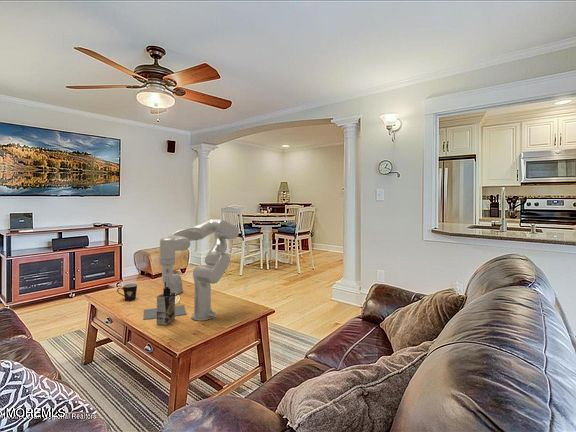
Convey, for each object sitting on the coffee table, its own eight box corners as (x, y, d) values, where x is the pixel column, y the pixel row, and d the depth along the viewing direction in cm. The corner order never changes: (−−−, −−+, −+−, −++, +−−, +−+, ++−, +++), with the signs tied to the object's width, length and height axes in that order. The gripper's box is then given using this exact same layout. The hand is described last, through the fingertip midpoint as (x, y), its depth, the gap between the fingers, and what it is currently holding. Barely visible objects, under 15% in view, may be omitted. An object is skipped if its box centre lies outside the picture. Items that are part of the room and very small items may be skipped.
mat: (186, 314, 190) (186, 314, 190) (143, 320, 181) (143, 319, 181) (184, 305, 205) (184, 305, 205) (143, 310, 195) (143, 309, 195)
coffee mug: (139, 297, 217) (139, 283, 216) (132, 302, 208) (132, 287, 208) (124, 296, 218) (124, 282, 217) (116, 301, 209) (116, 286, 209)
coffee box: (166, 325, 174) (166, 297, 173) (156, 324, 176) (156, 296, 175) (175, 319, 183) (175, 292, 182) (165, 317, 185) (165, 291, 183)
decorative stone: (178, 291, 234) (178, 271, 233) (184, 292, 232) (184, 272, 230) (167, 295, 224) (167, 274, 223) (173, 296, 222) (173, 276, 221)
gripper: (176, 263, 158) (175, 299, 159) (173, 258, 171) (173, 291, 172) (160, 264, 155) (159, 300, 156) (159, 258, 168) (158, 292, 169)
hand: (166, 295), depth 164 cm, fingers closed
